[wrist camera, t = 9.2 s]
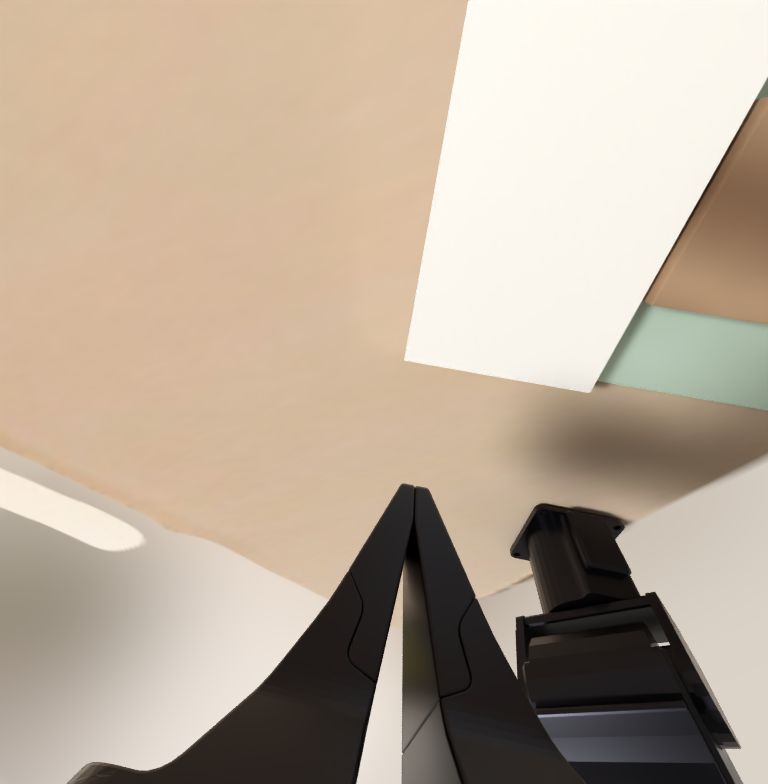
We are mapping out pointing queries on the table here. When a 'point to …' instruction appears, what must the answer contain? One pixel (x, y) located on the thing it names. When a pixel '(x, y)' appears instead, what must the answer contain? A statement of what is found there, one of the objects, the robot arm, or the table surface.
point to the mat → (693, 354)
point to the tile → (725, 235)
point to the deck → (573, 174)
